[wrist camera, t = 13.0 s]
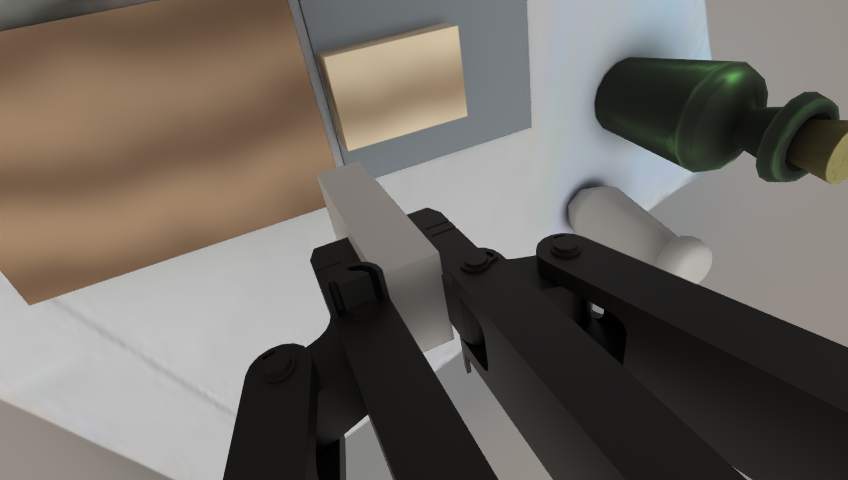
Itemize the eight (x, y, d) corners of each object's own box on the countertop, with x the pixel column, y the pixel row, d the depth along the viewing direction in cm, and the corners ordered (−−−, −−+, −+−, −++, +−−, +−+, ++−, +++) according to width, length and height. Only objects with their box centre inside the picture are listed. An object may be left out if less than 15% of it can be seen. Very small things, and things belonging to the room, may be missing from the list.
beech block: (315, 52, 29) (323, 57, 27) (441, 23, 32) (457, 25, 30) (339, 141, 33) (348, 151, 31) (452, 108, 35) (467, 115, 33)
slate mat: (291, -26, 27) (292, -27, 27) (520, -72, 31) (523, -72, 31) (349, 184, 35) (351, 185, 34) (528, 125, 39) (531, 127, 38)
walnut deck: (-136, 57, 22) (-170, 65, 20) (274, -23, 27) (280, -24, 25) (41, 283, 30) (29, 305, 28) (337, 188, 35) (345, 200, 33)
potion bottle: (635, 145, 45) (843, 220, 30) (573, 133, 41) (775, 213, 26) (672, 57, 42) (923, 95, 27) (608, 36, 38) (858, 67, 23)
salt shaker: (549, 216, 44) (656, 287, 34) (587, 167, 44) (709, 224, 33) (581, 240, 48) (687, 312, 37) (616, 196, 47) (735, 256, 36)
